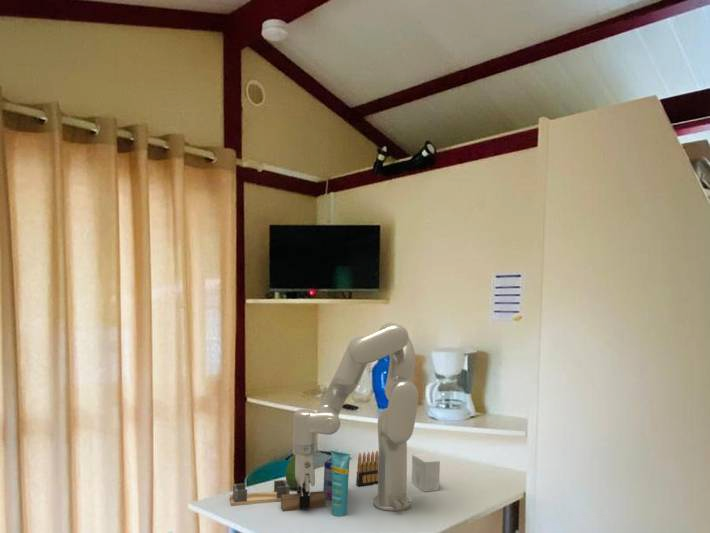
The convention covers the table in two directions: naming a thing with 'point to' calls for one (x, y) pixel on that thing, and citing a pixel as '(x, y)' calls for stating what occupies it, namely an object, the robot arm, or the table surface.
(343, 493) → the tube
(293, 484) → the avocado
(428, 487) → the skincare box
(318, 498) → the slat
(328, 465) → the ink cartridge box
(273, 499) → the rail
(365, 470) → the ammunition clip
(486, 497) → the table surface
